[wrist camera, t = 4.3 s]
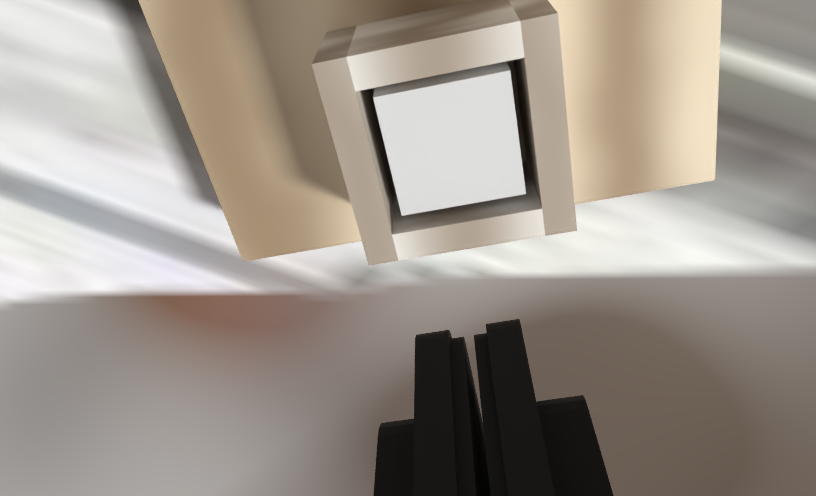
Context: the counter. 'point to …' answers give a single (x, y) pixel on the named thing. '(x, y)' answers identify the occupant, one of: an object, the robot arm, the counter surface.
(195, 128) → the key panel
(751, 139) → the counter surface
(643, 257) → the counter surface
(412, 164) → the pale grey key
